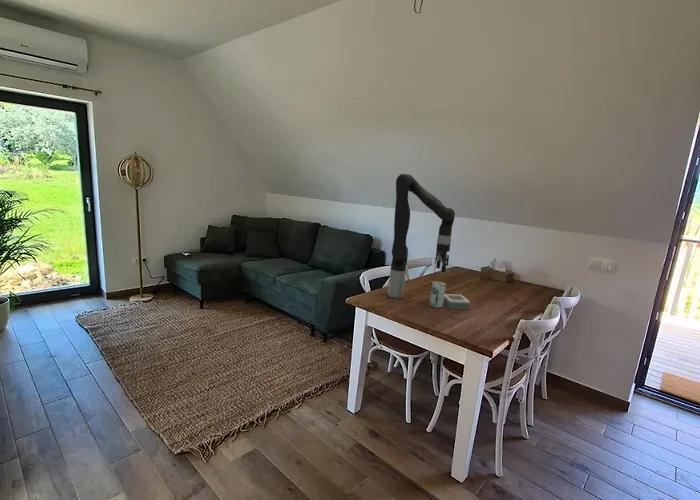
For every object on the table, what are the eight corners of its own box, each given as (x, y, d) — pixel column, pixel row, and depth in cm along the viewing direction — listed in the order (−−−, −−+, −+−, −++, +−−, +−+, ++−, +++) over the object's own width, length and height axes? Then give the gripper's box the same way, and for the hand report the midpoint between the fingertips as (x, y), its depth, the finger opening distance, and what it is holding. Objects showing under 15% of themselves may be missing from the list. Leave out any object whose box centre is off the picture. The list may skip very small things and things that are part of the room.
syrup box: (429, 304, 222) (432, 281, 219) (436, 303, 224) (439, 280, 222) (435, 308, 217) (438, 284, 214) (443, 307, 220) (446, 283, 217)
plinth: (449, 309, 217) (450, 300, 216) (441, 302, 228) (442, 294, 227) (468, 309, 218) (469, 301, 217) (460, 302, 230) (461, 294, 229)
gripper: (433, 240, 220) (430, 266, 223) (442, 244, 206) (438, 273, 209) (445, 240, 221) (442, 267, 224) (454, 245, 207) (451, 273, 210)
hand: (440, 270), depth 216 cm, fingers open, 8 cm apart
